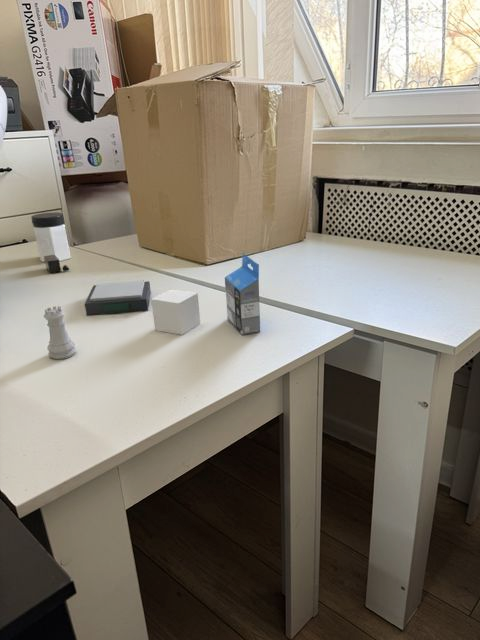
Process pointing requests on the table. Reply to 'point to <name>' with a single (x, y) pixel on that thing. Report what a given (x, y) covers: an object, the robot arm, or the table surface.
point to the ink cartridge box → (244, 297)
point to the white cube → (176, 311)
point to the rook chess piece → (58, 335)
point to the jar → (51, 235)
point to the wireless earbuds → (54, 264)
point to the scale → (118, 297)
